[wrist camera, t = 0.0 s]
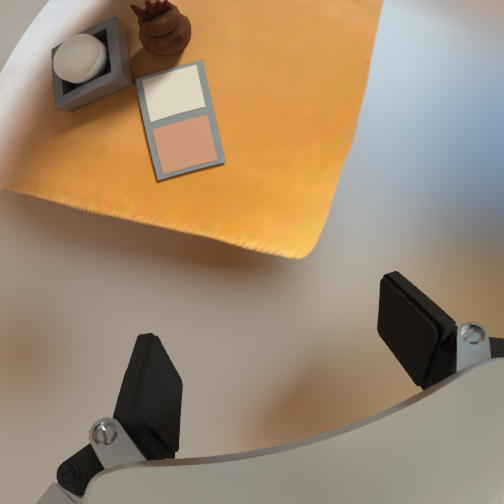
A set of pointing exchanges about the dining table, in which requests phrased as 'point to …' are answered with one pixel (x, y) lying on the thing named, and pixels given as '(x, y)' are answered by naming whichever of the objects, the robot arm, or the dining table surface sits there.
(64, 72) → the dome
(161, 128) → the grey flat tray
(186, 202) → the dining table surface
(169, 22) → the wooden figurine
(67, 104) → the dome housing
